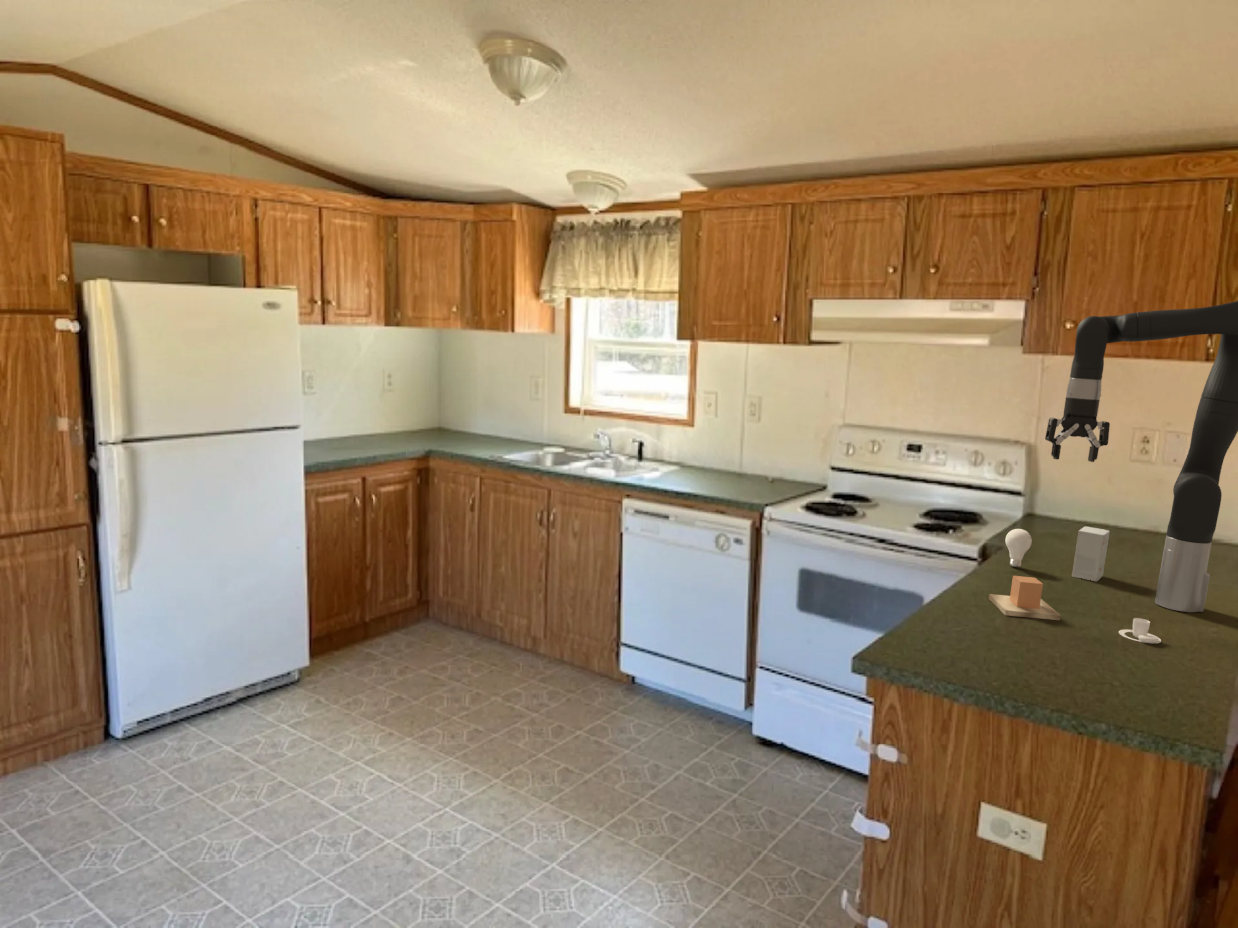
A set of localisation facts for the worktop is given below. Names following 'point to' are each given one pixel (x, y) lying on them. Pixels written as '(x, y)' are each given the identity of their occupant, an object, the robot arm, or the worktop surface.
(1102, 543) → the small box
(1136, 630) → the white ring and cup
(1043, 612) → the post base
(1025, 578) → the salmon cube
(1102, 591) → the worktop surface
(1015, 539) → the light bulb
